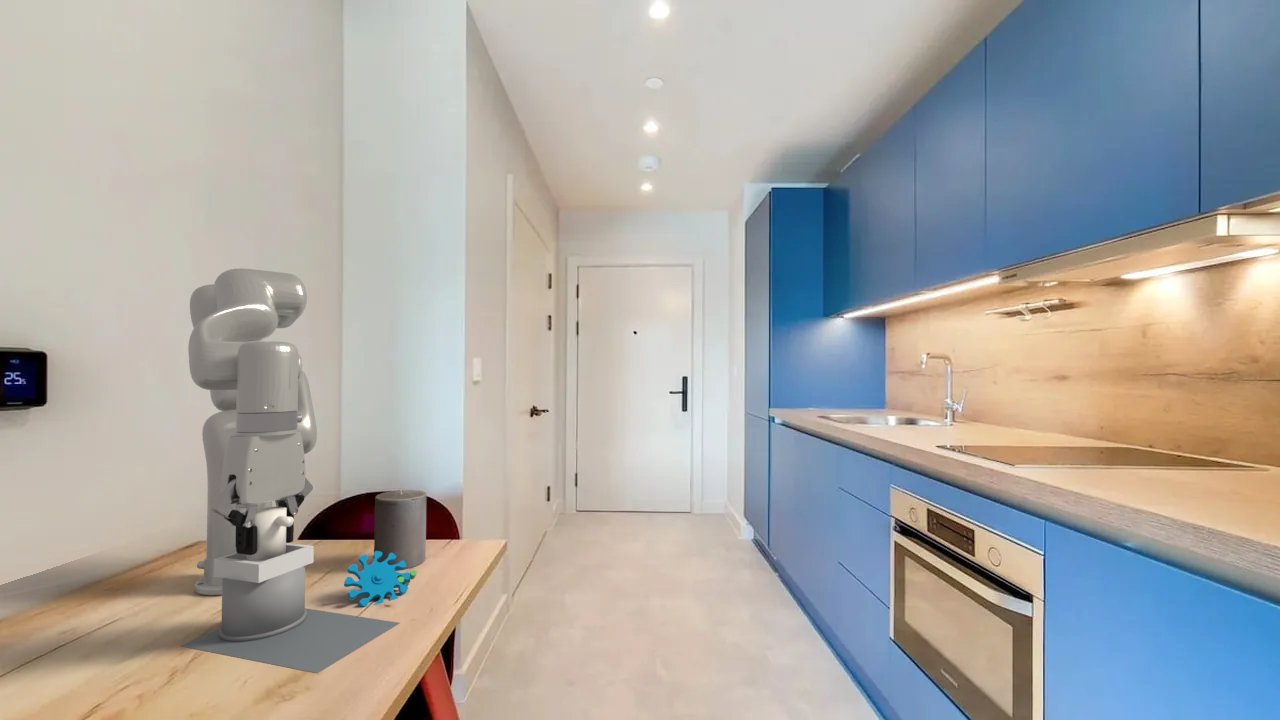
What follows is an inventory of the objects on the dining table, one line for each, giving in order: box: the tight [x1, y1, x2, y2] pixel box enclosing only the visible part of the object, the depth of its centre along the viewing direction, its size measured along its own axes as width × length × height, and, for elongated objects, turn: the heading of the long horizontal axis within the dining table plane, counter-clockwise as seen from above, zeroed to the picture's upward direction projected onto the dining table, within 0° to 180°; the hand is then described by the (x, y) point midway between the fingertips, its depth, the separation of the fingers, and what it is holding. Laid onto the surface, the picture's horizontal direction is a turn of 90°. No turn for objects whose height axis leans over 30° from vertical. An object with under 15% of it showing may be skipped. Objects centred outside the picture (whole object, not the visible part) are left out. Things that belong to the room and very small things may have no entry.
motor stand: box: [179, 542, 401, 674], centre depth 76 cm, size 24×14×12 cm, turn 73°
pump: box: [245, 506, 295, 561], centre depth 79 cm, size 7×5×6 cm
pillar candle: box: [373, 487, 428, 571], centre depth 108 cm, size 10×10×15 cm
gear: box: [343, 551, 418, 608], centre depth 90 cm, size 11×6×10 cm
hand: (265, 546), depth 79 cm, fingers closed on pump, 5 cm apart
